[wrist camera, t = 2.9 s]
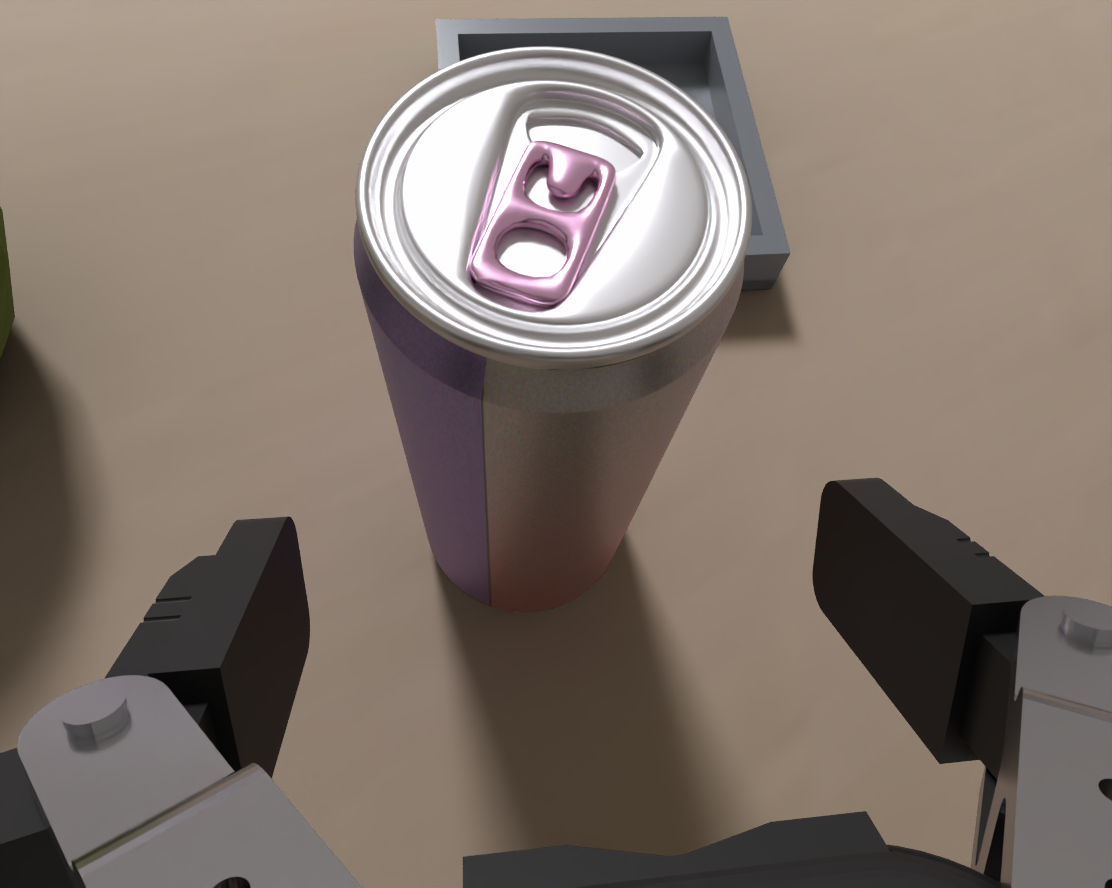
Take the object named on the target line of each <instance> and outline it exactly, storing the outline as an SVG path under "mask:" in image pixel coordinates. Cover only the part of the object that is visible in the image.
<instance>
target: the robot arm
mask: <svg viewBox="0 0 1112 888" xmlns="http://www.w3.org/2000/svg"><path fill="white" fill-rule="evenodd" d="M813 586H814V592H815V596H816V599H817V602H818V604H819V606H820V608H821V610H822V611H823V613H824V614H825V615H826V617H827V618H828V619H829V621H830V622H831V623H832V625H833V626H834V627H835V628H836V630H837V631H838V632H839V634H840V635H841V636H842V638H843V639H844V640H845V641H846V643H847V644H848V645H849V647H850V648H851V649H852V651H853V652H854V653H855V654H856V656H857V657H858V658H859V660H860V661H861V662H862V664H863V665H864V666H865V667H866V669H867V670H868V671H869V673H870V674H871V675H872V677H873V678H874V679H875V680H876V682H877V683H878V684H879V686H880V687H881V688H882V690H883V691H884V692H885V693H886V695H887V696H888V697H889V699H890V700H891V701H892V703H893V704H894V705H895V706H896V708H897V709H898V710H899V712H900V713H901V714H902V716H903V717H904V718H905V719H906V721H907V722H908V723H909V725H910V726H911V727H912V729H913V730H914V731H915V732H916V734H917V735H918V736H919V738H920V739H921V740H922V742H923V743H924V744H925V745H926V747H927V748H928V749H929V751H930V752H931V753H932V755H933V756H934V757H935V758H936V760H937V761H938V762H939V764H944V763H953V762H962V761H972V760H981V761H982V763H983V764H984V765H985V769H984V773H983V778H982V782H981V786H980V791H979V800H978V809H977V817H976V826H975V834H974V843H973V851H972V860H971V868H969V867H966V866H964V865H961V864H959V863H956V862H954V861H951V860H949V859H946V858H943V857H939V856H936V855H933V854H930V853H926V852H923V851H919V850H914V849H909V848H904V847H900V846H893V845H886V844H885V842H884V840H883V839H882V837H881V835H880V834H879V832H878V830H877V829H876V827H875V825H874V824H873V822H872V821H871V819H870V817H869V816H868V814H867V812H866V811H864V812H855V813H846V814H837V815H829V816H820V817H811V818H802V819H793V820H784V821H776V822H770V823H767V824H764V825H762V826H759V827H756V828H754V829H751V830H748V831H746V832H743V833H740V834H738V835H735V836H732V837H730V838H727V839H724V840H722V841H719V842H716V843H714V844H711V845H708V846H706V847H703V848H700V849H698V850H695V851H692V852H690V853H687V854H683V855H679V856H661V855H652V854H642V853H633V852H624V851H614V850H605V849H596V848H587V847H577V846H568V845H564V846H555V847H546V848H537V849H528V850H520V851H511V852H502V853H493V854H484V855H475V856H467V857H463V888H1112V607H1111V606H1108V605H1105V604H1102V603H1099V602H1095V601H1091V600H1088V599H1082V598H1077V597H1069V596H1044V595H1043V594H1041V593H1040V592H1039V591H1038V590H1036V589H1035V588H1034V587H1032V586H1031V585H1030V584H1029V583H1027V582H1026V581H1025V580H1023V579H1022V578H1021V577H1020V576H1018V575H1017V574H1016V573H1015V572H1013V571H1012V570H1011V569H1009V568H1008V567H1007V566H1006V565H1004V564H1003V563H1002V562H1000V561H999V560H998V559H997V558H995V557H994V556H991V557H990V556H989V552H988V551H986V550H985V549H984V548H983V547H981V546H980V545H979V544H977V543H976V542H975V541H974V542H971V541H970V537H969V536H967V535H966V534H965V533H963V532H962V531H961V530H960V529H958V528H957V527H956V526H954V525H953V524H952V523H951V522H949V521H948V520H946V519H944V518H942V517H939V516H937V515H935V514H933V513H930V512H928V511H926V510H924V509H921V508H919V507H917V506H914V505H913V504H912V503H911V502H909V501H908V500H907V499H906V498H904V497H903V496H902V495H901V494H899V493H898V492H897V491H896V490H894V489H893V488H892V487H891V486H890V485H888V484H887V483H886V482H885V481H883V480H882V479H880V478H867V479H852V480H837V481H830V482H828V483H827V484H826V485H825V487H824V489H823V492H822V496H821V503H820V512H819V520H818V529H817V538H816V546H815V555H814V564H813ZM309 639H310V618H309V608H308V602H307V595H306V589H305V583H304V576H303V570H302V563H301V557H300V551H299V544H298V538H297V532H296V528H295V524H294V522H293V520H292V518H291V517H277V518H262V519H247V520H237V521H235V522H234V524H233V526H232V527H231V529H230V531H229V532H228V534H227V536H226V538H225V539H224V541H223V543H222V545H221V546H220V548H219V550H218V552H217V553H216V555H211V556H198V557H197V558H195V559H194V560H193V561H191V562H190V563H188V564H187V565H186V566H184V567H183V568H182V569H180V570H179V571H177V572H176V573H175V574H173V575H172V576H171V577H170V578H169V579H168V581H167V583H166V584H165V586H164V587H163V589H162V590H161V592H160V593H159V595H158V596H157V598H156V604H152V606H151V607H150V609H149V610H148V612H147V613H146V615H145V616H144V622H143V623H140V624H139V626H138V627H137V629H136V630H135V632H134V633H133V635H132V637H131V638H130V640H129V641H128V643H127V644H126V646H125V647H124V649H123V650H122V652H121V654H120V655H119V657H118V658H117V660H116V661H115V663H114V664H113V666H112V667H111V669H110V671H109V672H108V674H107V675H106V677H105V678H104V679H101V680H98V681H95V682H91V683H88V684H86V685H83V686H80V687H78V688H75V689H73V690H71V691H69V692H67V693H65V694H63V695H61V696H60V697H58V698H56V699H54V700H53V701H51V702H50V703H49V704H47V705H46V706H44V707H43V708H42V709H41V710H39V711H38V712H37V713H36V714H35V715H34V716H33V717H32V718H31V719H30V720H29V721H28V722H27V723H26V725H25V726H24V728H23V729H22V731H21V733H20V735H19V738H18V742H17V748H15V749H12V750H9V751H6V752H3V753H0V888H363V887H362V886H361V885H360V884H359V883H358V881H357V880H356V879H355V878H354V877H353V876H352V874H351V873H350V872H349V871H348V870H347V868H346V867H345V866H344V865H343V864H342V862H341V861H340V860H339V859H338V858H337V856H336V855H335V854H334V853H333V852H332V850H331V849H330V848H329V847H328V846H327V844H326V843H325V842H324V841H323V840H322V839H321V837H320V836H319V835H318V834H317V833H316V831H315V830H314V829H313V828H312V827H311V825H310V824H309V823H308V822H307V821H306V819H305V818H304V817H303V816H302V815H301V813H300V812H299V811H298V810H297V809H296V807H295V806H294V805H293V804H292V803H291V802H290V800H289V799H288V798H287V797H286V796H285V794H284V793H283V792H282V791H281V790H280V788H279V787H278V786H277V785H276V784H275V782H274V781H273V780H272V775H273V772H274V768H275V765H276V762H277V758H278V755H279V751H280V748H281V744H282V741H283V737H284V734H285V730H286V727H287V723H288V720H289V716H290V713H291V709H292V706H293V702H294V699H295V695H296V692H297V688H298V685H299V681H300V678H301V674H302V671H303V667H304V664H305V660H306V657H307V653H308V648H309Z"/></svg>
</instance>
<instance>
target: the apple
mask: <svg viewBox="0 0 1112 888" xmlns="http://www.w3.org/2000/svg"><path fill="white" fill-rule="evenodd" d="M14 318H15V315H14V306H13V296H12V287H11V278H10V268H9V259H8V252H7V244H6V236H5V228H4V220H3V212H2V209H1V207H0V357H1V356H2V353H3V350H4V347H5V344H6V341H7V339H8V336H9V333H10V330H11V327H12V324H13V321H14Z"/></svg>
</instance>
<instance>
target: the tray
mask: <svg viewBox="0 0 1112 888" xmlns="http://www.w3.org/2000/svg"><path fill="white" fill-rule="evenodd" d="M436 33H437V51H438V68H439V70H441V69H443V68H445V67H447V66H449V65H451V64H454V63H456V62H459V61H461V60H464V59H467V58H470V57H473V56H477V55H480V54H484V53H488V52H493V51H498V50H503V49H510V48H518V47H536V46H549V47H565V48H575V49H581V50H588V51H592V52H597V53H602V54H605V55H609V56H613V57H616V58H619V59H622V60H625V61H628V62H631V63H633V64H636V65H638V66H641V67H643V68H645V69H647V70H649V71H651V72H653V73H655V74H657V75H659V76H661V77H663V78H664V79H666V80H668V81H669V82H671V83H672V84H674V85H676V86H677V87H679V88H680V89H681V90H683V91H684V92H685V93H687V94H688V95H689V96H691V97H692V98H693V99H694V100H695V101H697V102H698V103H699V104H700V105H701V106H702V107H703V108H704V109H705V110H706V111H707V112H708V113H709V114H710V115H711V116H712V117H713V118H714V119H715V120H716V122H717V123H718V124H719V125H720V127H721V128H722V129H723V131H724V132H725V133H726V135H727V136H728V138H729V139H730V141H731V143H732V144H733V146H734V148H735V150H736V152H737V154H738V156H739V158H740V160H741V163H742V165H743V168H744V171H745V174H746V177H747V180H748V184H749V188H750V194H751V201H752V227H751V234H750V240H749V244H748V248H747V252H746V255H745V258H744V275H743V282H742V288H741V290H757V289H771V288H772V286H773V284H774V282H775V280H776V279H777V277H778V275H779V273H780V271H781V269H782V268H783V266H784V264H785V262H786V260H787V258H788V257H789V255H790V250H789V246H788V242H787V239H786V235H785V231H784V227H783V224H782V220H781V216H780V212H779V209H778V205H777V201H776V197H775V194H774V190H773V186H772V182H771V179H770V175H769V171H768V167H767V164H766V160H765V156H764V152H763V149H762V145H761V141H760V137H759V134H758V130H757V126H756V122H755V119H754V115H753V111H752V107H751V104H750V100H749V96H748V92H747V89H746V85H745V81H744V77H743V74H742V70H741V66H740V63H739V59H738V55H737V51H736V48H735V44H734V40H733V36H732V33H731V29H730V25H729V21H728V18H727V17H655V18H542V19H436Z"/></svg>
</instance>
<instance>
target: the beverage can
mask: <svg viewBox="0 0 1112 888" xmlns="http://www.w3.org/2000/svg"><path fill="white" fill-rule="evenodd" d="M355 204H356V215H357V220H356V225H355V233H354V259H355V267H356V272H357V278H358V281H359V285H360V289H361V292H362V296H363V300H364V304H365V307H366V311H367V315H368V318H369V322H370V326H371V329H372V333H373V337H374V341H375V344H376V348H377V352H378V355H379V359H380V363H381V366H382V370H383V374H384V378H385V381H386V385H387V389H388V392H389V396H390V400H391V403H392V407H393V411H394V415H395V418H396V422H397V426H398V429H399V433H400V437H401V440H402V444H403V448H404V451H405V455H406V459H407V463H408V466H409V470H410V474H411V477H412V481H413V485H414V488H415V492H416V496H417V500H418V503H419V507H420V511H421V514H422V518H423V522H424V525H425V529H426V533H427V537H428V540H429V544H430V547H431V549H432V552H433V554H434V557H435V559H436V561H437V562H438V564H439V566H440V567H441V569H442V570H443V572H444V573H445V574H446V575H447V577H448V578H449V579H450V580H451V581H452V582H453V583H454V584H455V585H456V586H457V587H458V588H459V589H461V590H462V591H463V592H465V593H466V594H467V595H469V596H471V597H472V598H474V599H476V600H478V601H480V602H482V603H484V604H486V605H489V606H492V607H495V608H499V609H503V610H508V611H517V612H532V611H540V610H546V609H550V608H554V607H557V606H560V605H562V604H564V603H567V602H569V601H571V600H573V599H575V598H576V597H578V596H579V595H581V594H582V593H584V592H585V591H586V590H588V589H589V588H590V587H591V586H592V585H593V584H594V583H595V582H596V581H597V580H598V579H599V578H600V577H601V575H602V574H603V573H604V572H605V570H606V569H607V567H608V566H609V564H610V562H611V560H612V558H613V556H614V554H615V552H616V550H617V548H618V546H619V544H620V542H621V540H622V538H623V536H624V534H625V532H626V530H627V528H628V526H629V524H630V522H631V520H632V518H633V516H634V514H635V512H636V510H637V508H638V506H639V504H640V502H641V500H642V498H643V496H644V494H645V492H646V490H647V488H648V486H649V484H650V482H651V480H652V478H653V476H654V474H655V471H656V469H657V467H658V465H659V463H660V461H661V459H662V457H663V455H664V453H665V451H666V449H667V447H668V445H669V443H670V441H671V439H672V437H673V435H674V433H675V431H676V429H677V427H678V425H679V423H680V421H681V419H682V417H683V415H684V413H685V411H686V409H687V407H688V405H689V403H690V401H691V399H692V397H693V395H694V393H695V391H696V389H697V387H698V385H699V383H700V381H701V379H702V377H703V375H704V373H705V371H706V369H707V366H708V364H709V362H710V360H711V358H712V356H713V354H714V352H715V350H716V348H717V346H718V344H719V342H720V340H721V338H722V336H723V334H724V332H725V330H726V328H727V326H728V324H729V322H730V320H731V318H732V316H733V313H734V311H735V308H736V306H737V303H738V300H739V296H740V292H741V288H742V282H743V275H744V258H745V255H746V252H747V248H748V244H749V240H750V234H751V227H752V201H751V194H750V188H749V184H748V180H747V177H746V174H745V171H744V168H743V165H742V163H741V160H740V158H739V156H738V154H737V152H736V150H735V148H734V146H733V144H732V143H731V141H730V139H729V138H728V136H727V135H726V133H725V132H724V131H723V129H722V128H721V127H720V125H719V124H718V123H717V122H716V120H715V119H714V118H713V117H712V116H711V115H710V114H709V113H708V112H707V111H706V110H705V109H704V108H703V107H702V106H701V105H700V104H699V103H698V102H697V101H695V100H694V99H693V98H692V97H691V96H689V95H688V94H687V93H685V92H684V91H683V90H681V89H680V88H679V87H677V86H676V85H674V84H672V83H671V82H669V81H668V80H666V79H664V78H663V77H661V76H659V75H657V74H655V73H653V72H651V71H649V70H647V69H645V68H643V67H641V66H638V65H636V64H633V63H631V62H628V61H625V60H622V59H619V58H616V57H613V56H609V55H605V54H602V53H597V52H592V51H588V50H581V49H575V48H565V47H549V46H536V47H518V48H510V49H503V50H498V51H493V52H488V53H484V54H480V55H477V56H473V57H470V58H467V59H464V60H461V61H459V62H456V63H454V64H451V65H449V66H447V67H445V68H443V69H441V70H439V71H437V72H435V73H433V74H432V75H430V76H428V77H427V78H425V79H423V80H422V81H420V82H419V83H417V84H416V85H415V86H413V87H412V88H411V89H410V90H408V91H407V92H406V93H405V94H404V95H403V96H401V97H400V98H399V99H398V100H397V101H396V102H395V103H394V104H393V105H392V106H391V107H390V109H389V110H388V111H387V112H386V114H385V115H384V116H383V117H382V119H381V120H380V122H379V123H378V125H377V126H376V128H375V129H374V131H373V133H372V135H371V136H370V138H369V140H368V142H367V145H366V147H365V149H364V152H363V154H362V158H361V161H360V164H359V169H358V174H357V181H356V190H355Z"/></svg>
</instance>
